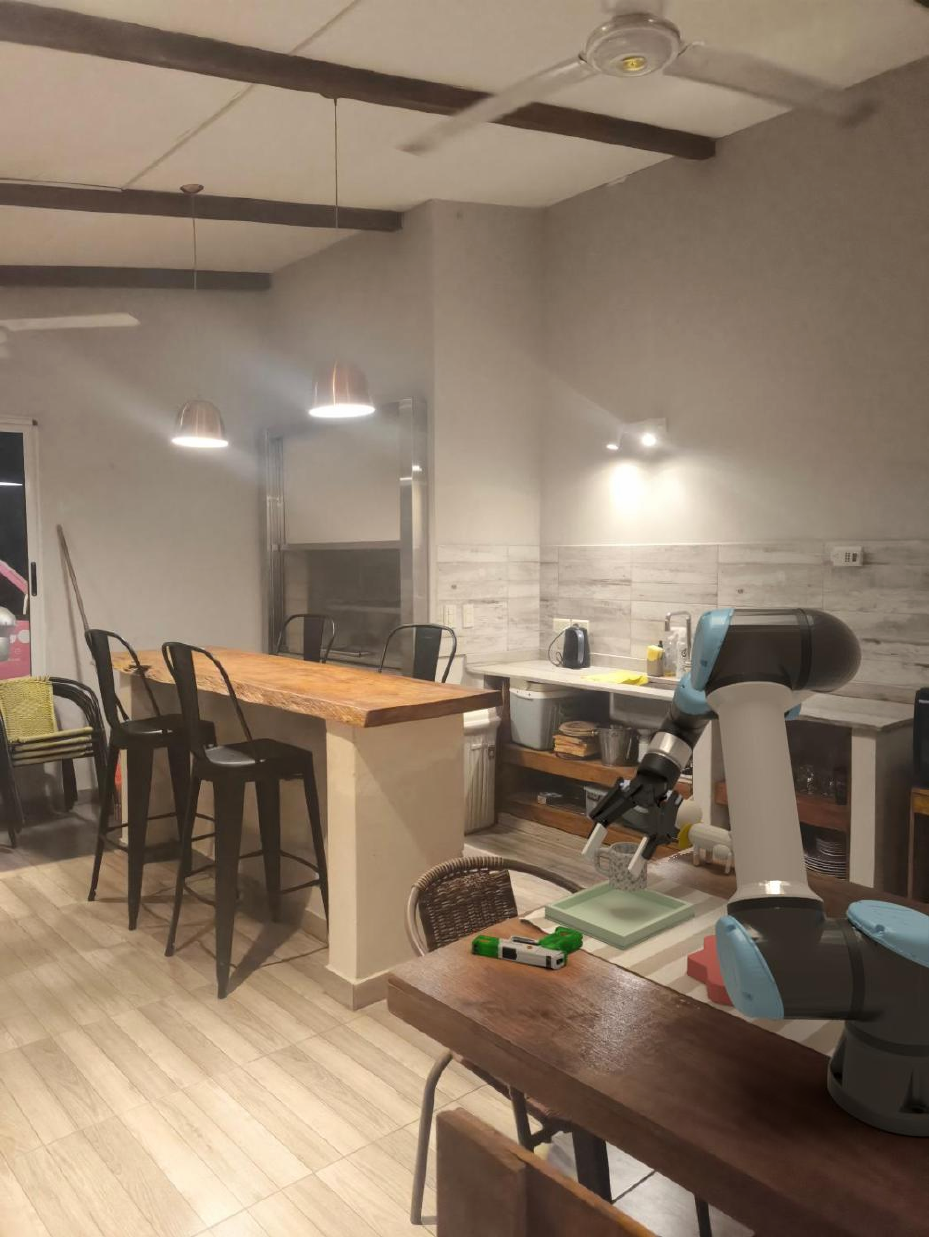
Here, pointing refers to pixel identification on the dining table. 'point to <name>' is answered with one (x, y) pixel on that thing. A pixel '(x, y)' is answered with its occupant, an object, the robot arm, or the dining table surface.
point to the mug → (621, 867)
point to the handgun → (532, 947)
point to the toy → (702, 835)
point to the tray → (619, 914)
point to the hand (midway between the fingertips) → (608, 865)
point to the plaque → (708, 971)
